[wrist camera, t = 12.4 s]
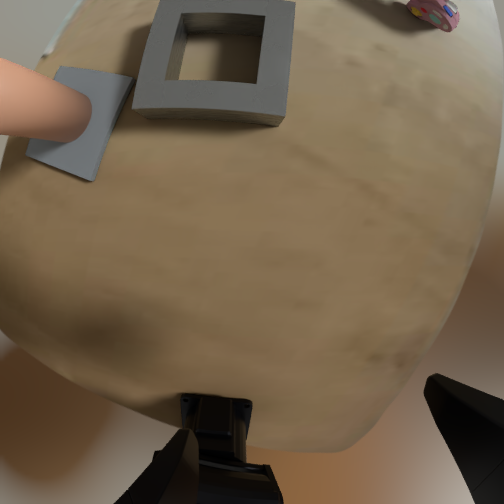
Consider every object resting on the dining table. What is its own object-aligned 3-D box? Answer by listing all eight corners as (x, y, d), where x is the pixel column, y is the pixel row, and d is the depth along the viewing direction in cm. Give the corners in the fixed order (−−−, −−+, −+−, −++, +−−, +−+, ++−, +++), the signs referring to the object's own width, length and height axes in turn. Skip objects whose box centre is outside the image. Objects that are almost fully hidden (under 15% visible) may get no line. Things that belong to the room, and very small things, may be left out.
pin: (87, 141, 16) (-44, 121, 4) (49, 145, 15) (-72, 138, 4) (96, 89, 15) (-16, 33, 3) (57, 96, 15) (-52, 63, 3)
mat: (135, 80, 15) (132, 77, 15) (94, 180, 17) (90, 180, 16) (63, 68, 14) (60, 66, 14) (29, 155, 16) (25, 155, 15)
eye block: (278, 126, 17) (285, 116, 14) (147, 118, 16) (131, 108, 13) (288, 22, 15) (295, 2, 12) (170, 17, 14) (161, -3, 11)
